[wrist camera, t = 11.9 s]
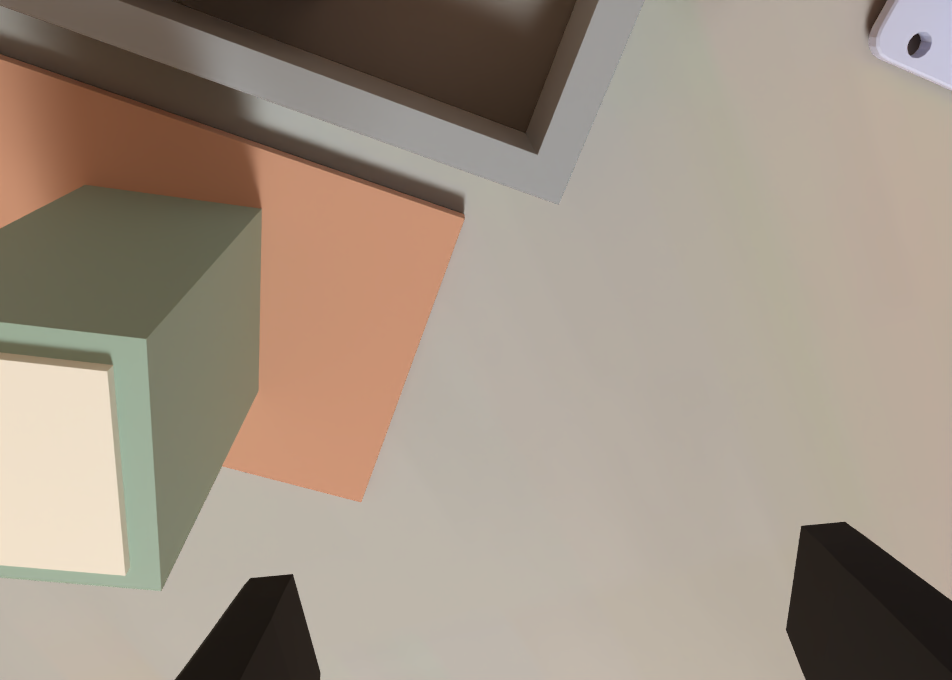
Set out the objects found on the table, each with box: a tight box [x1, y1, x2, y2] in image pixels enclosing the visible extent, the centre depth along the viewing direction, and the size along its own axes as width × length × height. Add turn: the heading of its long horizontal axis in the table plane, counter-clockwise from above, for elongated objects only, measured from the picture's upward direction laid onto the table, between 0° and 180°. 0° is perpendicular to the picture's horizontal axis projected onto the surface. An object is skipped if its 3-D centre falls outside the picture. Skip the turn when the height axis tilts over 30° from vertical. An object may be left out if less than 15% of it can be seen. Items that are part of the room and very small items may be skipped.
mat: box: [0, 54, 465, 502], centre depth 18 cm, size 12×9×1 cm
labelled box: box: [0, 185, 262, 591], centre depth 14 cm, size 4×5×7 cm
